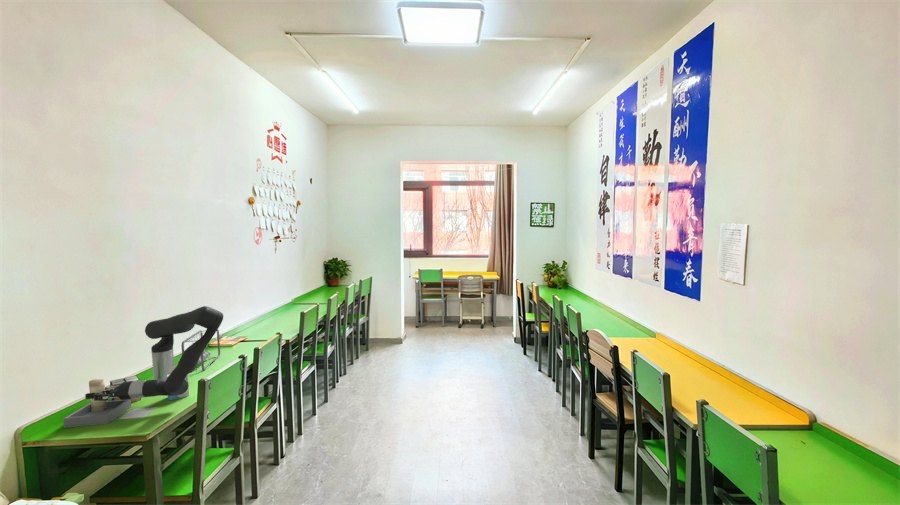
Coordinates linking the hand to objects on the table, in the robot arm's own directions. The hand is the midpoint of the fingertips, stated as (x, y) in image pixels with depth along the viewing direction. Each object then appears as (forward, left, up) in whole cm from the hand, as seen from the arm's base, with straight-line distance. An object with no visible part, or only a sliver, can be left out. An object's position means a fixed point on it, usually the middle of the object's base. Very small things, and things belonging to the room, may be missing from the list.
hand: (90, 393), depth 176 cm
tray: (0, +3, -11) cm, 11 cm away
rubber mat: (0, +18, -11) cm, 20 cm away
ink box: (-16, +27, -11) cm, 33 cm away
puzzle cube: (-17, +4, -11) cm, 21 cm away
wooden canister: (0, +3, -7) cm, 8 cm away
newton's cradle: (-68, +17, -11) cm, 71 cm away
